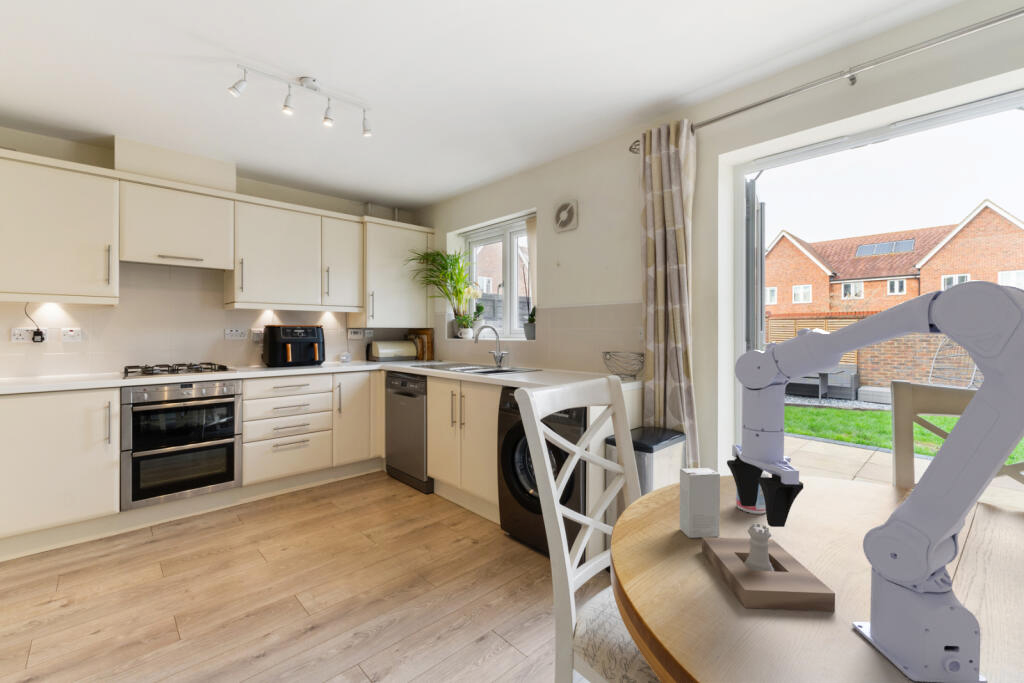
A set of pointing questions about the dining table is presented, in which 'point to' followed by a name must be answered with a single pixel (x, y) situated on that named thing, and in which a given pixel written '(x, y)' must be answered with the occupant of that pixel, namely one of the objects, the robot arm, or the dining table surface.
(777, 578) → the socket board
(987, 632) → the dining table surface
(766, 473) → the pill bottle
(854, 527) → the dining table surface
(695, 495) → the skincare box
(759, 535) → the rook chess piece
